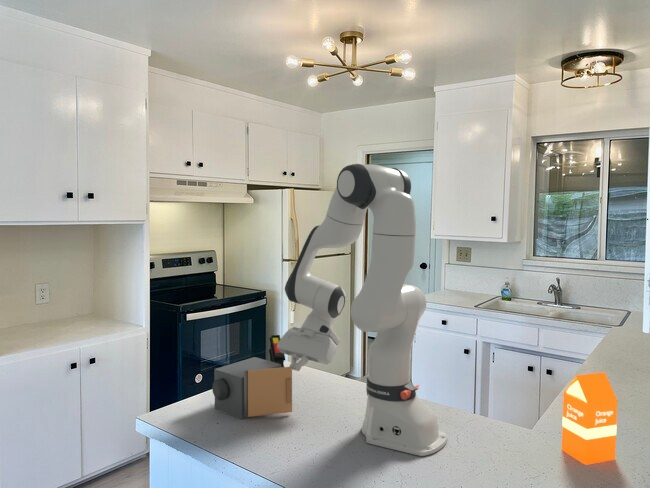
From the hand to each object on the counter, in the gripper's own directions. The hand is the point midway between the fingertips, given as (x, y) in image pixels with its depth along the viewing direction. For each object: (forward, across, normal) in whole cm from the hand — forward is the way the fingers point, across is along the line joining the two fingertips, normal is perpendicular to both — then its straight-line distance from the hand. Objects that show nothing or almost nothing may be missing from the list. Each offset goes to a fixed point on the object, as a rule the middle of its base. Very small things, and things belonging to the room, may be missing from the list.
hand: (293, 369), depth 149 cm
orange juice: (-9, +75, +25) cm, 80 cm away
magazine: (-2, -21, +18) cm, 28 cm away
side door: (+15, 0, 0) cm, 15 cm away
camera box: (+14, -11, +2) cm, 18 cm away
